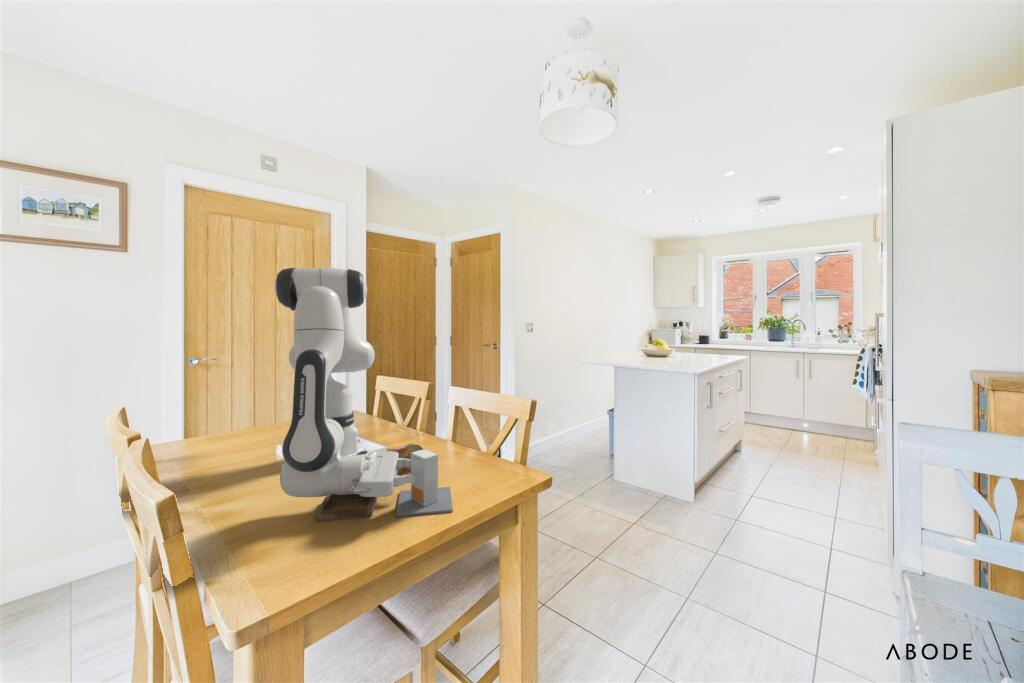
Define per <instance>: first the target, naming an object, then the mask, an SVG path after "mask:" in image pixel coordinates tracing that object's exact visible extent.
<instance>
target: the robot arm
mask: <svg viewBox="0 0 1024 683" xmlns="http://www.w3.org/2000/svg"><path fill="white" fill-rule="evenodd" d="M367 285H368V284H367V282H366V279H365V278H364V275H363V274H362V273H361V272H360V271H358V270H354V269H350V268H348V269H341V268H336V267H324V266H322V267H305V268H304V267H303V268H302V267H301V268H296V267H289V268H284V269H281V270H280V271H279V272H278V273H277V275H276V278H275V281H274V292H275V295H276V297H277V301H278V303H280V304H281V305H282V306H284V307H285V308H288V309H290V310H291V311H293V312H294V320H293V345H292V347H291V348H290V349H289V354H288V361H289V364H290V367H291V368H292V369H293V370H294V381H293V398H292V399H293V401H292V418H291V423H290V426H289V429H288V431H287V433H286V435H285V438H284V440H283V442H282V452H281V453H282V457H283V459H284V461H285V463H284V464H283V465H282V466H281V469H280V473H279V474H280V476H279V480H280V481H279V482H280V486H281V488H282V490H283V492H284V494H286V495H287V496H289V497H293V498H323V497H326V495H329V494H338V495H348V494H359V495H360V496H362V497H378V498H382V497H383V498H384V497H385V498H386V497H389V496H391V495H393V493H394V489H395V488H396V487H402V486H404V485H406V484H411V483H413V482H414V481H415V474H414V473H407V475H403V476H399V475H397V470H398V468H402V467H409V468H411V459H410V460H409V459H405V458H399V453H397V452H394V451H388V450H386V451H378V450H377V451H371V452H370V451H369V450H367V449H364V450H363V451H360V452H359V453H357V454H355V455H352V456H348V455H351V454H353V453H356V452H358V443H360V439H361V438H359V437H358V436H359V434H358V433H359V432H358V429H357V426H356V424H355V414H354V410H353V392H352V389H351V387H349V386H347V385H346V384H345V383H342V382H339V381H337V380H335V379H334V378H333V376H332V374H337V373H356V372H361V371H364V370H365V371H366V370H369V369H370V368H371V366H373V363H374V361H375V359H376V353H375V349H374V347H373V346H372V344H371V343H370V342H368V340H364V338H362V337H360V336H359V335H358V334H357V333H355V331H354V329H353V328H352V326H351V321H350V316H349V309H353V308H355V309H356V308H358V307H361V306H362V305H363V304H364V303H365V299H366V298H367V294H368V286H367Z"/></svg>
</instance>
